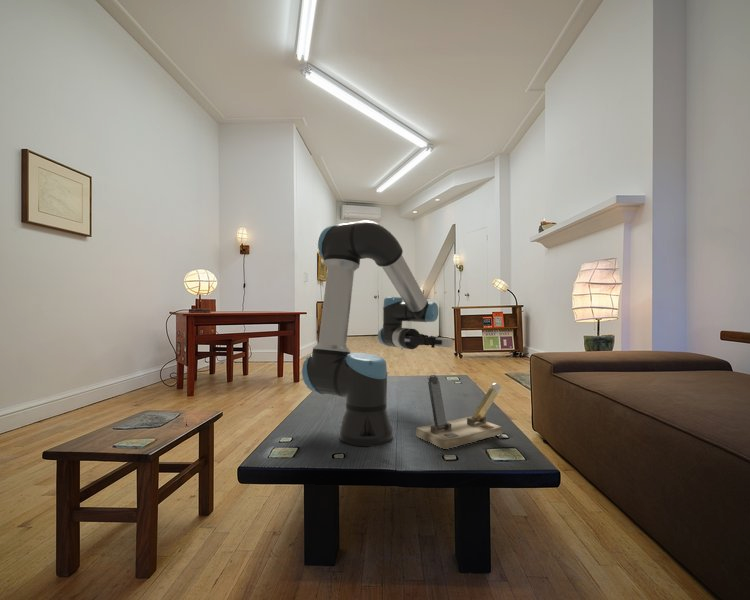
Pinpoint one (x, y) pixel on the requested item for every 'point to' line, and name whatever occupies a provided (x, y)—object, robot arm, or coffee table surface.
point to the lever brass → (486, 402)
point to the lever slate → (437, 402)
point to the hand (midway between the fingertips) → (450, 343)
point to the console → (458, 432)
